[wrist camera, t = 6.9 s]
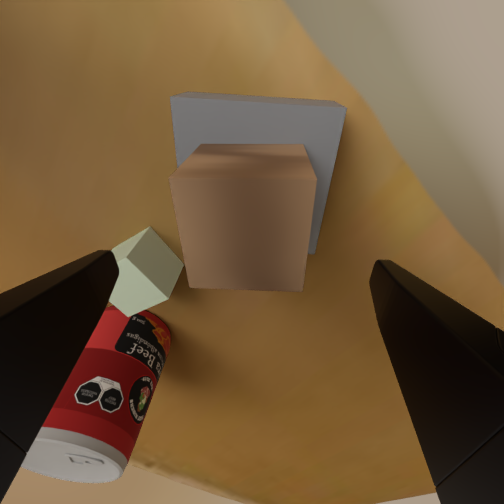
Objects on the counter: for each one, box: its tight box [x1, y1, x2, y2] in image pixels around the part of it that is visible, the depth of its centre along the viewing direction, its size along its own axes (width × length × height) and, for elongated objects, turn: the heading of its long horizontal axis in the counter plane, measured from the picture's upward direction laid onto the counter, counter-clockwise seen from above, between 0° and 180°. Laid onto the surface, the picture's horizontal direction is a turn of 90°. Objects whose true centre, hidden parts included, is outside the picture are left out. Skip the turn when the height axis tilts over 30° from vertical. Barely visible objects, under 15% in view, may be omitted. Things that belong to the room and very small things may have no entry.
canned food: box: [21, 306, 171, 483], centre depth 22 cm, size 8×8×11 cm
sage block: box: [109, 227, 184, 317], centre depth 20 cm, size 4×4×4 cm
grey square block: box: [170, 92, 347, 254], centre depth 16 cm, size 8×8×4 cm
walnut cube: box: [169, 144, 317, 292], centre depth 12 cm, size 5×5×5 cm
